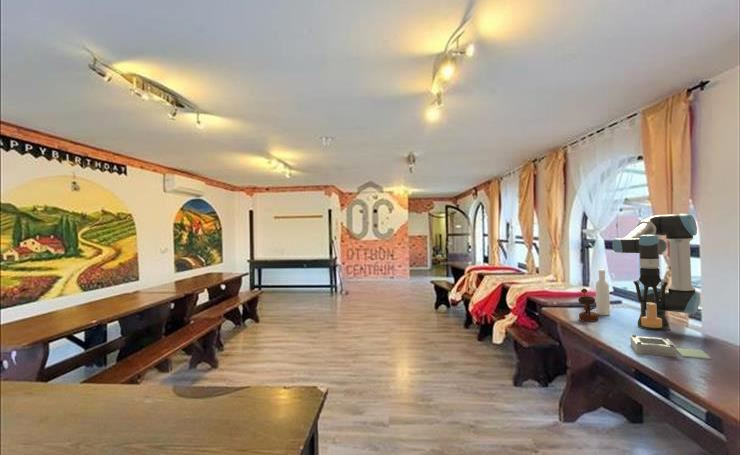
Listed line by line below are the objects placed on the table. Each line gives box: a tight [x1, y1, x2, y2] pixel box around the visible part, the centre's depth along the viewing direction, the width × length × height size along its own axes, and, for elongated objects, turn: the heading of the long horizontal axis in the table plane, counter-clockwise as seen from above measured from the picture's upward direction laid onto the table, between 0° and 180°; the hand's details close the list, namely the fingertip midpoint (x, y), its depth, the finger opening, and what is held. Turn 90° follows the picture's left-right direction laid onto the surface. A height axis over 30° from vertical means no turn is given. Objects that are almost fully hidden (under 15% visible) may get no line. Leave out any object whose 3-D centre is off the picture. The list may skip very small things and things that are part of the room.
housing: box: [629, 334, 678, 358], centre depth 185 cm, size 15×15×5 cm
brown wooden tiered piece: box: [578, 287, 599, 322], centre depth 248 cm, size 15×11×20 cm
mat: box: [676, 347, 712, 360], centre depth 178 cm, size 12×10×1 cm
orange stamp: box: [641, 302, 662, 328], centre depth 185 cm, size 8×8×10 cm
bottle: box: [595, 268, 611, 316], centre depth 262 cm, size 8×8×30 cm
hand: (651, 317), depth 185 cm, fingers closed on orange stamp, 2 cm apart
